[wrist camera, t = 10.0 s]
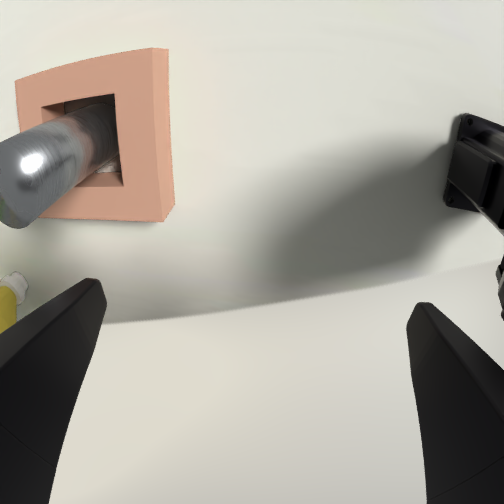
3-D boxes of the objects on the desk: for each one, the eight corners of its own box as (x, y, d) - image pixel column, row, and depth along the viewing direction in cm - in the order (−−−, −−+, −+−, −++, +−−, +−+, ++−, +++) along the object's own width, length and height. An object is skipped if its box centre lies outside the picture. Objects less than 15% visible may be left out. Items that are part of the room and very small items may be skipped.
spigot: (124, 99, 16) (26, 138, 9) (129, 159, 18) (46, 230, 11) (73, 107, 16) (-27, 150, 9) (80, 162, 19) (-7, 227, 11)
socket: (168, 49, 14) (152, 47, 12) (175, 204, 20) (163, 222, 18) (38, 75, 15) (14, 80, 13) (56, 202, 20) (38, 217, 18)
